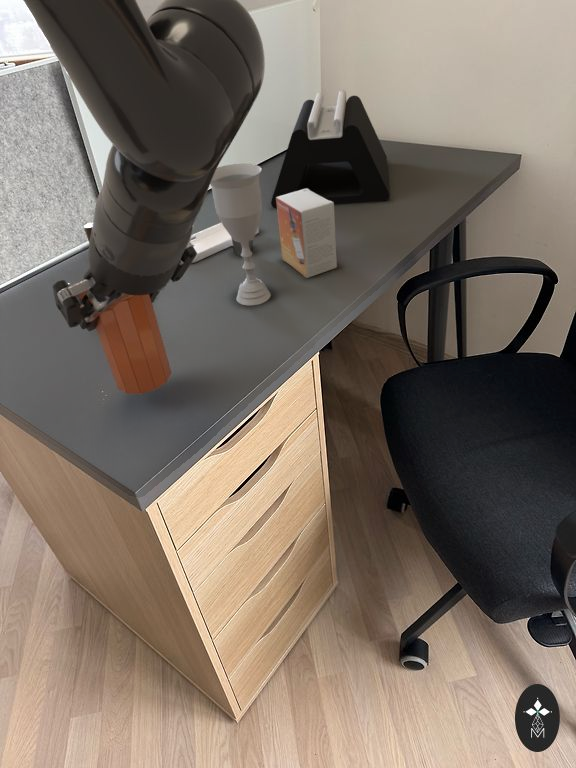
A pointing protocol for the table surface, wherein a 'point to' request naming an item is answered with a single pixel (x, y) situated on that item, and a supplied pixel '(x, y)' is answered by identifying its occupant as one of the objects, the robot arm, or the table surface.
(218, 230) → the phone case
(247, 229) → the chalice
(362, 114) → the device stand
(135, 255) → the robot arm
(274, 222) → the table surface
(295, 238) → the small box
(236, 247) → the milkshake
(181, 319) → the table surface
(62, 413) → the table surface
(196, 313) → the table surface
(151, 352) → the cup
